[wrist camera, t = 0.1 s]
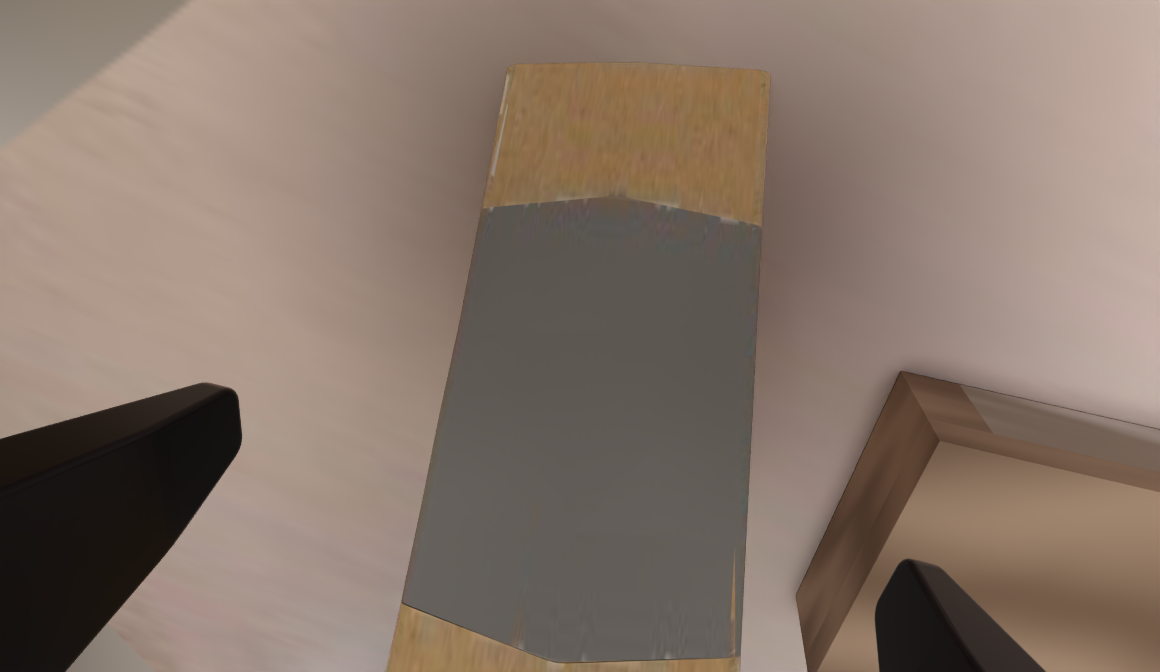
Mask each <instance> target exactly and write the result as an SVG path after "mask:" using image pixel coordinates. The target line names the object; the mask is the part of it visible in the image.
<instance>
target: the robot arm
mask: <svg viewBox="0 0 1160 672" xmlns="http://www.w3.org/2000/svg"><path fill="white" fill-rule="evenodd" d="M241 442H242V430H241V419H240V409H239V399H238V395H237V394H236V392H235V391H234V390H233V389H231V388H228V387H224V386H220V385H216V384H212V383H199V384H195V385H192V386H188V387H184V388H181V389H177V390H174V391H170V392H166V393H163V394H159V395H156V396H152V397H149V398H145V399H141V400H138V401H134V402H131V403H127V404H123V405H120V406H116V407H113V408H109V409H105V410H102V411H98V412H95V413H91V414H87V415H84V416H80V417H77V418H73V419H70V420H66V421H62V422H59V423H55V424H52V425H48V426H44V427H41V428H37V429H34V430H30V431H26V432H23V433H19V434H16V435H12V436H8V437H5V438H1V439H0V672H66V671H67V669H68V668H69V667H70V666H71V664H72V663H73V662H74V661H75V660H76V659H77V658H78V656H79V655H80V654H81V653H82V652H83V651H84V649H85V648H86V647H87V646H88V645H89V644H90V643H91V641H92V640H93V639H94V638H95V637H96V636H97V634H98V633H99V632H100V631H101V630H102V628H103V627H104V626H105V625H106V624H107V623H108V621H109V620H110V619H111V618H112V617H113V616H114V614H115V613H116V612H117V611H118V610H119V609H120V607H121V606H122V605H123V604H124V603H125V602H126V600H127V599H128V598H129V597H130V596H131V595H132V593H133V592H134V591H135V590H136V589H137V588H138V586H139V585H140V584H141V583H142V582H143V581H144V579H145V578H146V577H147V576H148V575H149V574H150V572H151V571H152V570H153V569H154V568H155V567H156V565H157V564H158V563H159V562H160V561H161V559H162V558H163V557H164V556H165V554H166V553H167V552H168V551H169V550H170V548H171V547H172V546H173V544H174V543H175V542H176V540H177V539H178V538H179V536H180V535H181V534H182V532H183V531H184V530H185V528H186V527H187V525H188V524H189V522H190V521H191V520H192V518H193V517H194V515H195V514H196V512H197V511H198V510H199V508H200V507H201V505H202V504H203V502H204V501H205V500H206V498H207V497H208V495H209V494H210V492H211V491H212V489H213V488H214V487H215V485H216V484H217V482H218V481H219V479H220V478H221V477H222V475H223V474H224V472H225V471H226V469H227V468H228V467H229V465H230V464H231V462H232V461H233V459H234V458H235V457H236V455H237V453H238V451H239V449H240V446H241ZM875 631H876V642H877V653H878V664H879V672H1046V671H1045V670H1044V669H1043V668H1042V667H1041V666H1040V665H1039V664H1038V663H1037V662H1036V661H1035V660H1034V659H1033V658H1032V657H1031V656H1030V655H1029V654H1028V653H1027V652H1026V651H1025V650H1024V649H1023V648H1022V647H1021V646H1020V645H1019V644H1018V643H1017V642H1016V641H1015V640H1014V639H1013V638H1012V637H1011V636H1010V635H1009V634H1008V633H1007V632H1006V631H1005V630H1004V629H1003V628H1002V627H1001V626H1000V625H999V624H998V623H997V622H996V621H995V620H994V619H993V618H992V617H991V616H990V615H989V614H988V613H987V612H986V611H985V610H984V609H983V608H982V607H981V606H980V605H979V604H978V603H977V602H976V601H975V600H974V599H973V598H972V597H971V596H970V595H969V594H968V593H967V592H965V591H964V590H963V589H962V588H961V587H960V586H959V585H958V584H957V583H956V582H955V581H954V580H953V579H952V578H951V577H950V576H949V575H948V574H947V573H946V572H945V571H944V570H943V569H942V568H941V567H939V566H937V565H934V564H931V563H927V562H923V561H919V560H915V559H910V558H908V559H904V560H902V561H901V562H900V563H899V564H898V565H897V567H896V569H895V571H894V572H893V574H892V576H891V578H890V580H889V581H888V583H887V585H886V587H885V589H884V590H883V592H882V594H881V596H880V597H879V599H878V602H877V605H876V609H875Z"/></svg>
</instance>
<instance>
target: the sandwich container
mask: <svg viewBox="0 0 1160 672" xmlns="http://www.w3.org/2000/svg"><path fill="white" fill-rule="evenodd" d="M769 94H770V74H768V73H767V72H765V71H761V70H750V69H734V68H719V67H703V66H688V65H672V64H657V63H641V62H612V63H551V64H515V65H511V66H510V67H508V70H507V74H506V80H505V85H504V91H503V96H502V102H501V107H500V113H499V118H498V124H497V129H496V134H495V140H494V145H493V151H492V156H491V161H490V166H489V172H488V177H487V182H486V187H485V192H484V198H483V203H482V208H481V213H480V219H479V224H478V229H477V234H476V239H475V244H474V249H473V255H472V260H471V265H470V270H469V275H468V280H467V286H466V291H465V296H464V301H463V306H462V311H461V317H460V322H459V327H458V332H457V336H456V341H455V346H454V350H453V355H452V359H451V364H450V369H449V373H448V378H447V382H446V387H445V391H444V396H443V401H442V405H441V410H440V415H439V420H438V425H437V430H436V435H435V440H434V445H433V450H432V455H431V460H430V465H429V470H428V475H427V480H426V485H425V490H424V495H423V500H422V504H421V509H420V514H419V519H418V523H417V528H416V533H415V538H414V543H413V547H412V552H411V557H410V562H409V567H408V571H407V576H406V581H405V586H404V591H403V595H402V600H401V601H402V602H401V605H400V609H399V614H398V619H397V623H396V628H395V633H394V637H393V641H392V646H391V650H390V654H389V658H388V663H387V667H386V671H385V672H740V657H741V634H742V614H743V593H744V573H745V552H746V532H747V513H748V493H749V473H750V454H751V434H752V413H753V393H754V373H755V353H756V333H757V313H758V293H759V273H760V253H761V233H762V216H763V199H764V181H765V164H766V146H767V129H768V111H769Z"/></svg>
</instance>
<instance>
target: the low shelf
mask: <svg viewBox="0 0 1160 672" xmlns="http://www.w3.org/2000/svg"><path fill="white" fill-rule="evenodd" d="M908 558H910V559H915V560H919V561H923V562H927V563H931V564H934V565H937V566H939V567H941V568H942V569H943V570H944V571H945V572H946V573H947V574H948V575H949V576H950V577H951V578H952V579H953V580H954V581H955V582H956V583H957V584H958V585H959V586H960V587H961V588H962V589H963V590H964V591H965V592H967V593H968V594H969V595H970V596H971V597H972V598H973V599H974V600H975V601H976V602H977V603H978V604H979V605H980V606H981V607H982V608H983V609H984V610H985V611H986V612H987V613H988V614H989V615H990V616H991V617H992V618H993V619H994V620H995V621H996V622H997V623H998V624H999V625H1000V626H1001V627H1002V628H1003V629H1004V630H1005V631H1006V632H1007V633H1008V634H1009V635H1010V636H1011V637H1012V638H1013V639H1014V640H1015V641H1016V642H1017V643H1018V644H1019V645H1020V646H1021V647H1022V648H1023V649H1024V650H1025V651H1026V652H1027V653H1028V654H1029V655H1030V656H1031V657H1032V658H1033V659H1034V660H1035V661H1036V662H1037V663H1038V664H1039V665H1040V666H1041V667H1042V668H1043V669H1044V670H1045V671H1046V672H1160V430H1159V429H1154V428H1150V427H1146V426H1141V425H1137V424H1132V423H1128V422H1123V421H1119V420H1115V419H1110V418H1106V417H1101V416H1097V415H1092V414H1088V413H1084V412H1079V411H1075V410H1070V409H1066V408H1062V407H1057V406H1053V405H1048V404H1044V403H1039V402H1035V401H1031V400H1026V399H1022V398H1017V397H1013V396H1009V395H1004V394H1000V393H995V392H991V391H986V390H982V389H978V388H973V387H969V386H964V385H960V384H955V383H951V382H947V381H942V380H938V379H933V378H929V377H925V376H920V375H916V374H911V373H907V372H902V371H901V372H900V374H899V376H898V378H897V381H896V383H895V385H894V387H893V389H892V391H891V393H890V396H889V398H888V400H887V402H886V404H885V406H884V408H883V411H882V413H881V415H880V417H879V419H878V421H877V423H876V426H875V428H874V430H873V432H872V434H871V436H870V438H869V440H868V443H867V445H866V447H865V449H864V451H863V453H862V455H861V458H860V460H859V462H858V464H857V466H856V468H855V470H854V473H853V475H852V477H851V479H850V481H849V483H848V485H847V488H846V490H845V492H844V494H843V496H842V498H841V500H840V503H839V505H838V507H837V509H836V511H835V513H834V515H833V518H832V520H831V522H830V524H829V526H828V528H827V530H826V532H825V535H824V537H823V539H822V541H821V543H820V545H819V547H818V550H817V552H816V554H815V556H814V558H813V560H812V562H811V565H810V567H809V569H808V571H807V573H806V575H805V577H804V580H803V582H802V584H801V586H800V588H799V590H798V592H797V595H796V601H797V607H798V614H799V620H800V626H801V633H802V639H803V645H804V652H805V658H806V664H807V671H808V672H879V664H878V653H877V642H876V631H875V609H876V605H877V602H878V599H879V597H880V596H881V594H882V592H883V590H884V589H885V587H886V585H887V583H888V581H889V580H890V578H891V576H892V574H893V572H894V571H895V569H896V567H897V565H898V564H899V563H900V562H901V561H902V560H904V559H908Z"/></svg>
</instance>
